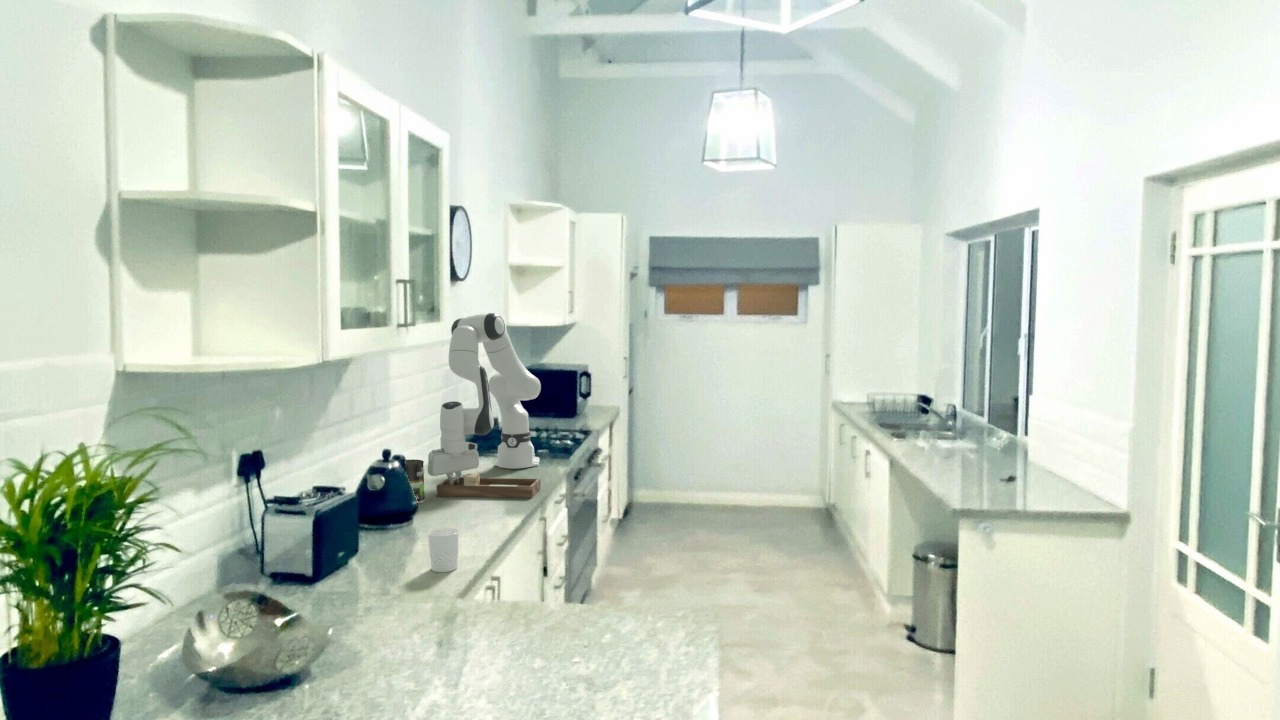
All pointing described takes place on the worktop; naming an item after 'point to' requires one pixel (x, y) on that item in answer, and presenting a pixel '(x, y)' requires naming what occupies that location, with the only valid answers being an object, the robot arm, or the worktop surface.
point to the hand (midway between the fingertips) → (454, 484)
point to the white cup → (443, 549)
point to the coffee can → (416, 478)
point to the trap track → (491, 488)
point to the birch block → (472, 480)
